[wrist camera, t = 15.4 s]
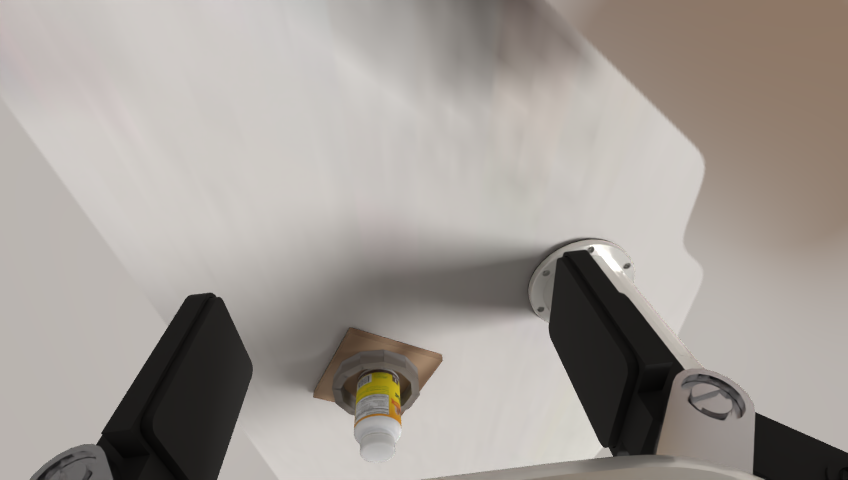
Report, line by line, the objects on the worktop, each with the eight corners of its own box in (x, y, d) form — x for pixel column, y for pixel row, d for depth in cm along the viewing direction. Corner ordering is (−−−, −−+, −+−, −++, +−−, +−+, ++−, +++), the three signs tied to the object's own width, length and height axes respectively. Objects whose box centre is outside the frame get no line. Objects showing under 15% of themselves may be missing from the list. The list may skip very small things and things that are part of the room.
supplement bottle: (396, 392, 56) (399, 467, 47) (356, 391, 55) (350, 467, 46) (402, 365, 53) (405, 439, 44) (359, 363, 52) (354, 438, 43)
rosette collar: (441, 354, 54) (444, 372, 51) (399, 411, 60) (400, 430, 57) (350, 327, 50) (348, 345, 47) (314, 390, 55) (310, 410, 53)
